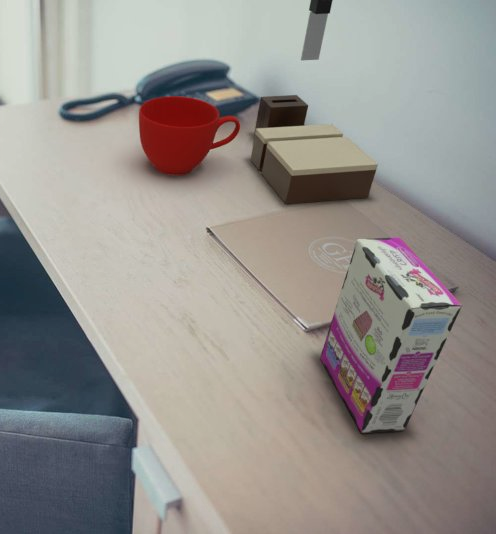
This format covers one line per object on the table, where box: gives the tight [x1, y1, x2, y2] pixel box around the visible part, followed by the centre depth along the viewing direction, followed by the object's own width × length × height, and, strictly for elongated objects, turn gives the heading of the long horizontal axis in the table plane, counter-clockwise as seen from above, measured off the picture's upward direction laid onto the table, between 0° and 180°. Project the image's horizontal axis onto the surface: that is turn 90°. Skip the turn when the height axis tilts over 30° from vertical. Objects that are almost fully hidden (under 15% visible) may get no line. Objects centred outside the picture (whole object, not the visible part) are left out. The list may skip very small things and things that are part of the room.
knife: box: [300, 0, 334, 61], centre depth 101 cm, size 3×2×14 cm
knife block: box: [253, 94, 309, 136], centre depth 117 cm, size 7×5×8 cm
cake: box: [261, 136, 379, 205], centre depth 104 cm, size 14×10×6 cm
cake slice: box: [250, 123, 344, 171], centre depth 110 cm, size 14×4×6 cm, turn 100°
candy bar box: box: [319, 236, 463, 434], centre depth 64 cm, size 11×5×16 cm, turn 6°
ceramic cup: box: [138, 95, 241, 176], centre depth 107 cm, size 13×17×10 cm
